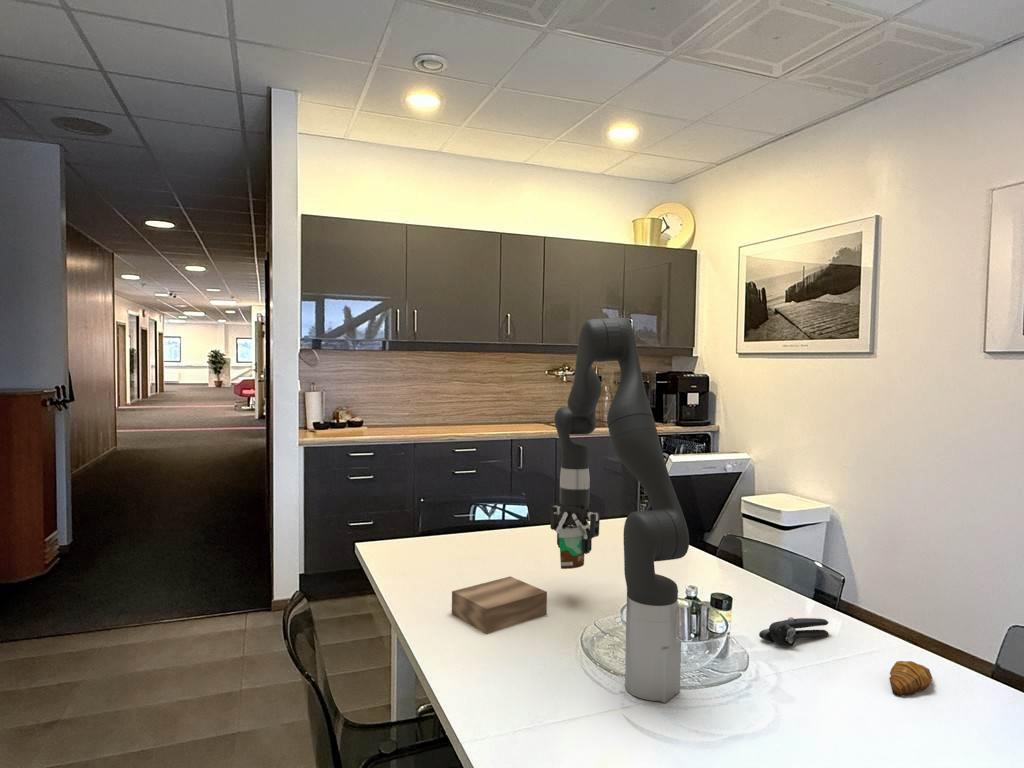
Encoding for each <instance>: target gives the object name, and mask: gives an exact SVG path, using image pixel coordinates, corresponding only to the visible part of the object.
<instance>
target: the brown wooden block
mask: <svg viewBox="0 0 1024 768" xmlns="http://www.w3.org/2000/svg"><path fill="white" fill-rule="evenodd" d="M547 602H548V592H547V590H544V589H541V588H539V587H536V586H534V585H532V584H529V583H527V582H525V581H522V580H520V579H517V578H516V577H513V576H507V577H503V578H499V579H498V578H497V579H495V580H491V581H487V582H483V583H482V582H481V583H479V584H475V585H471V586H467V587H462V588H458V589H456V590H452V591H451V616H454V617H456V619H459V620H461V621H463V622H464V623H466V624H468V625H470V626H471V627H473V628H474V629H476V630H478V631H480V632H482V633H484V634H486V635H490V634H492V633H495V632H498V631H501V630H505V629H508V628H510V627H514V626H517V625H519V624H523V623H526V622H529V621H532V620H535V619H539V618H541V617H545V616H547V613H548V612H547V610H548V609H547V607H548V603H547Z"/></svg>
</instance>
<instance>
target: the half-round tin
mask: <svg viewBox="0 0 1024 768" xmlns="http://www.w3.org/2000/svg"><path fill="white" fill-rule="evenodd" d="M583 526H585V525H584V524H583ZM583 539H584V537H583V532H582V530H580V527H575V526H573V525H568V526H564V527H563V529H559V541H560V548H559V557H560V569H561V570H568V569H578V568H581V567H583V566H584V565H585V554H584V553H583Z"/></svg>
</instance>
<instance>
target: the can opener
mask: <svg viewBox="0 0 1024 768" xmlns="http://www.w3.org/2000/svg"><path fill="white" fill-rule="evenodd" d="M828 624H829V621H828V620H827V619H825V618H816V617H814V618H809V617H803V618H802V617H800V618H798V617H797V618H794V617H788V618H787V619H784V620H780V621H775V622H772V623H771V624H770V625H769V628H766V629H762V630H761V631H760V632H759V633H758V635H759V638H760V639H762V640H765V641H767V642H769V643H775V644H776V645H778V646H779V647H783V648H790V647H794V646H795V643H796V641H799V640H800V639H821V638H825V637H828V636H829V634H830V633H829V632H828V631H827V630H825V629H806V628H811V627H821V626H822V627H823V626H827V625H828ZM796 629H797V630H796ZM798 629H801V630H798Z"/></svg>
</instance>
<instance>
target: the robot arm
mask: <svg viewBox="0 0 1024 768" xmlns="http://www.w3.org/2000/svg"><path fill="white" fill-rule="evenodd" d="M578 335H579V336H578V342H577V350H576V351H577V352H576V357H575V358H576V360H575V369H574V378H573V383H572V386H571V389H570V392H569V395H568V397H567V406H561V407H560V408H558V409H557V410H556V412H555V414H554V426H555V429H556V432H557V433H556V434H557V437H558V440H559V444H560V445H559V446H560V459H561V460H560V473H559V503H560V505H556V504H555V505H552V506H550V507H549V517H550V519H549V520H550V522H549V523H550V524H549V525H550V526H549V527H550V530H552V531H555V532H556V544H557V547H558V548H559V549H560V541H559V529H563V527H564V526H568V525H573V526H575V527H580V530H582V532H583V537H584V539H583V553H584V555H588V554H590V553H591V551H592V542H593V541H592V540H593V538H596V537H599V535H600V522H601V521H600V520H601V514H600V513H599V512H591V511H590V510H589V505H590V494H591V493H590V491H591V490H590V487H591V485H590V484H591V483H590V479H591V478H590V477H591V476H590V471H589V470H590V458H589V457H590V451H589V447H588V446H587V445H586V444H583V443H577V442H574V441H573V440H572V439H571V436H570V435H572V436H573V435H576V436H578V435H580V436H581V435H583V436H585V435H590V434H592V433H593V432H594V431H595V430H596V427H597V416H596V410H597V405H598V403H599V400H600V398H601V394H602V391H603V390H602V388H603V387H602V382H601V380H600V377H599V375H598V374H597V372H596V371H595V369H594V367H593V366H592V365H593V363H594V362H596V363H601V362H618V364H619V369H620V379H619V383H618V387H617V389H616V392H615V394H614V397H613V399H612V401H611V403H610V406H609V408H608V412H607V415H606V422H607V428H608V432H609V436H610V440H611V441H610V442H611V445H612V449H613V452H614V454H615V455H616V456H617V458H618V459H619V461H620V462H621V463H622V464H623V465H624V466H625V468H627V470H628V471H629V472H630V473H631V475H632V476H634V477H635V478H636V480H637V481H638V482H639V483H640V485H641V486H642V488H643V489H644V491H645V493H646V495H647V498H648V501H649V503H650V506H651V509H652V510H637V511H632V512H630V513H629V514H628V515H627V517H626V519H625V520H624V526H623V559H624V560H623V562H624V563H623V565H624V566H623V567H624V568H623V569H624V570H623V571H624V579H625V584H626V612H625V613H626V614H625V616H626V617H625V618H626V620H625V621H626V622H625V661H624V662H625V664H624V666H625V667H624V668H625V671H624V687H625V689H626V691H627V692H629V694H630V695H633V696H634V697H636V698H639V699H642V700H646V701H650V702H651V701H652V702H653V701H655V702H660V703H667V702H669V701H670V700H671V699H672V698H673V697H674V696H675V695H677V693H680V691H681V668H682V665H681V663H682V662H681V661H682V640H681V639H680V638H678V599H679V587H678V584H677V583H676V581H674V580H673V579H671V578H669V577H666V576H665V575H661V574H657V573H656V572H655V571H656V570H655V562H663V561H672V560H678V559H682V558H683V557H685V556H686V554H687V553H688V551H689V547H690V534H689V528H688V526H687V525H688V524H687V522H686V518H685V516H684V513H683V510H682V507H681V504H680V501H679V500H678V496H677V494H676V491H675V488H674V486H673V482H672V480H671V477H670V473H669V471H668V468H667V465H666V464H667V463H666V461H665V458H664V457H665V456H664V454H663V450H662V447H661V442H660V438H659V433H658V429H657V424H656V421H655V418H654V415H653V410H652V408H651V405H650V402H649V398H648V394H647V390H646V387H645V382H644V379H643V374H642V369H641V363H640V356H639V351H638V346H637V345H638V344H637V340H636V336H635V331H634V328H633V326H632V324H631V321H630V320H628V319H627V318H625V317H603V318H593V319H588V320H586V321H584V322H583V324H582V326H581V328H580V331H579V334H578ZM560 515H561V518H560ZM583 524H584V525H585V526H583Z"/></svg>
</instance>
